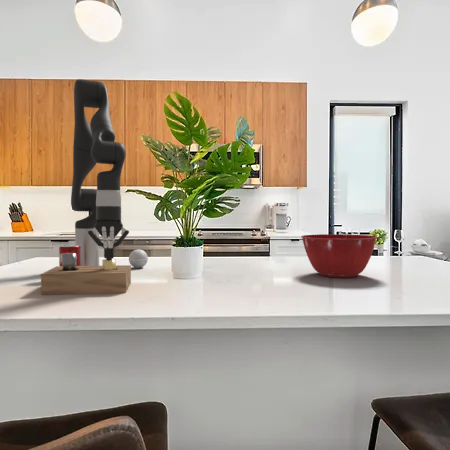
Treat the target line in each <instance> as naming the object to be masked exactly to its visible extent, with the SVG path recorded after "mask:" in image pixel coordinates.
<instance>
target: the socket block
mask: <svg viewBox="0 0 450 450" xmlns="http://www.w3.org/2000/svg"><path fill="white" fill-rule="evenodd" d="M131 283H132V265H131V264H128V265H125V264H124V265H122V264H121V265H117V264H116V270H103V265H99V266H76V271H63V266H59V265H58V266H55V267H53V268H51V269H48V270H47V271H44V272H43V273H40V288H41V289H40V293H41V296H42V295H77V294H78V295H80V294H81V295H82V294H83V295H84V294H85V295H86V294H90V295H91V294H120V293H121V294H126V293H127V292H128V289H129V288H130V286H131Z"/></svg>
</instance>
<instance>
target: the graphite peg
mask: <svg viewBox="0 0 450 450" xmlns="http://www.w3.org/2000/svg"><path fill="white" fill-rule="evenodd" d="M62 260H63V271H76V253H64V254H62Z"/></svg>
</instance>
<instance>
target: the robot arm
mask: <svg viewBox="0 0 450 450" xmlns="http://www.w3.org/2000/svg"><path fill="white" fill-rule="evenodd" d="M109 100H110V99H109V93H108V88H107V86H106V84H105V83H104V82H101V81H98V80H97V81H96V80H88V79H83V78H81V79H80V78H79V79H76V81H75V82H74V89H73V102H74V103H73V104H74V105H73V106H74V107H73V108H74V132H73V133H74V134H73V143H72V144H73V147H72V151H73V152H72V155H73V156H72V159H73V160H72V163H73V164H72V165H73V167H72V168H73V169H72V182H71V183H72V185H71V193H70V195H71V196H70V206H71V208H72V210H73V211H74V212H90V214H89V215H88V216H86V217H85V218H82V219H78V220H76V221H75V224H74V229H75V230H74V235H75V236H74V239H75V241H74V245H80V246H81V266H100V247H101V248H103V257H104V259H106V260H112V259H115V258H114V257H115V248H117V247H119V246H120V245H121V244H122V242H123V241H124V240H125V239H126V238H127V237H128V236H129V234H130V231H129V230H128V229H126V228H125V227H124V225H123V223H122V195H121V178H122V177H121V176H122V170H123V167H124V162H125V160H126V156H127V150H126V147H125V146H124V144H123V143H122V142H119V141H115V140H116V133H115V131H114V127H113V123H112V120H111V111H110V110H111V108H110V107H111V106H110V101H109ZM85 108H91V109H98V110H97V111H96V112H95V113H94V114H93V115H92V117H91V120H90V123H89V121H88V119H87V117H86V114H85ZM97 164H103V165H112V168H111V169H109V170H105V171H104V170H103V171H100V172H98V173H97V174H96V175H97V176H96V188H82V187H83V186H82V185H83V183H84V182H85V179H86V178H87V176H88V175H89V174H90V173H91V171H93V169H94V167H95V166H96V165H97ZM118 234H120V235H121V236H120V237H119V238H118V240H116V237H117V236H118ZM100 236H101V237H102V240H101V239H100ZM115 240H116V242H115Z"/></svg>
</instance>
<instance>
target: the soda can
mask: <svg viewBox="0 0 450 450" xmlns="http://www.w3.org/2000/svg"><path fill="white" fill-rule="evenodd" d="M64 253H76V266H81V246H80V245H75V244H63V245H59V246H58V262H59V263H58V266H63V260H62V254H64Z"/></svg>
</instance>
